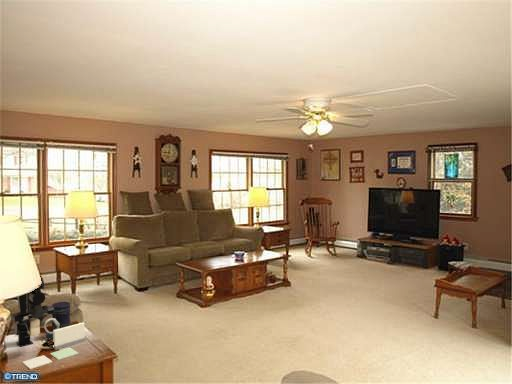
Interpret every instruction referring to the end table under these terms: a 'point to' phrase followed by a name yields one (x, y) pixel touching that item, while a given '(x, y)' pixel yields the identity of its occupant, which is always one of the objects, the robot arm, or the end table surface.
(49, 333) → the watch
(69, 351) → the sage mat
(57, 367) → the end table surface
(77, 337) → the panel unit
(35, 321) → the block
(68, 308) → the storage jar
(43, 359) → the cream mat
